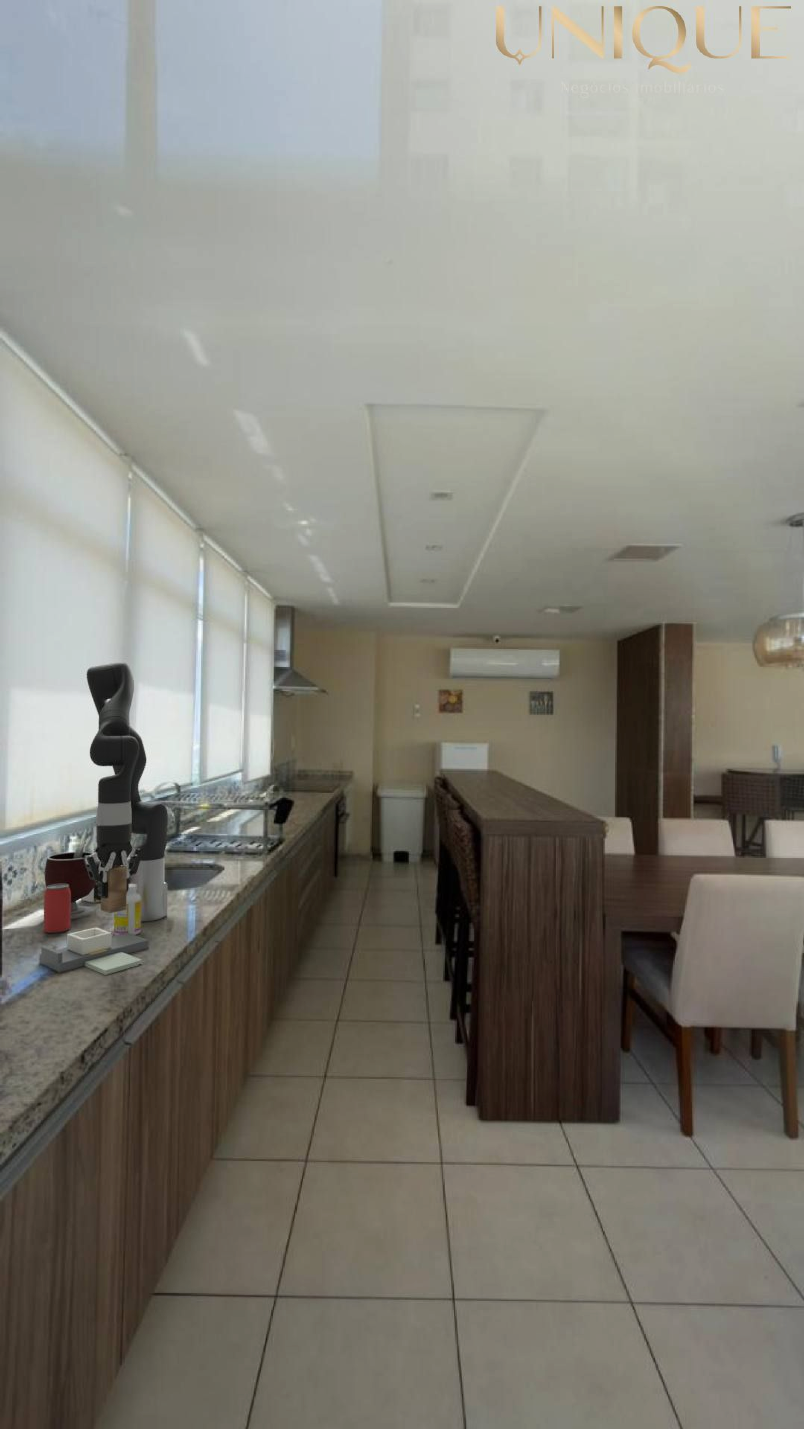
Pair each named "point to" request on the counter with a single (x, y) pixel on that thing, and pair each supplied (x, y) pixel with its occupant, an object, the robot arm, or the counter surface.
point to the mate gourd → (71, 877)
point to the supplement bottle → (129, 914)
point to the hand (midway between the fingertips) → (113, 895)
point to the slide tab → (89, 941)
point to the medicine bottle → (93, 891)
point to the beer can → (57, 908)
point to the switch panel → (71, 960)
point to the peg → (115, 890)
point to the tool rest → (113, 963)
